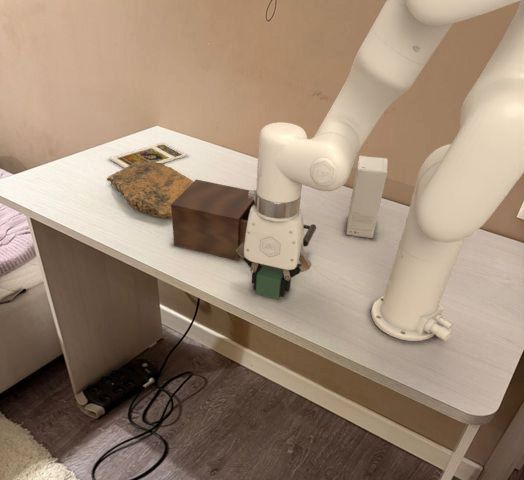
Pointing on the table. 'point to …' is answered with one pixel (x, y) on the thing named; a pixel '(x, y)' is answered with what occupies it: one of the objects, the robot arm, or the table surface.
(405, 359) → the table surface
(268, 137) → the robot arm
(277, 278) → the block
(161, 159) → the trading card
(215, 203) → the cabinet
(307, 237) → the drawer
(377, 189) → the white tower device
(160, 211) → the rock
